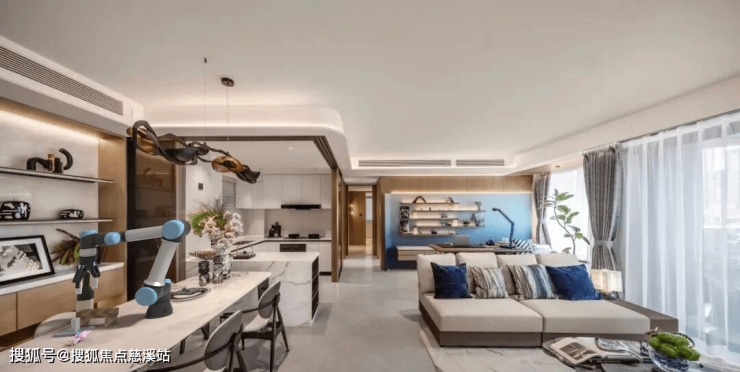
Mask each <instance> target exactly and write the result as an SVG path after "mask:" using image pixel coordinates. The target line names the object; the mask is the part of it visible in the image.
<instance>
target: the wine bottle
mask: <svg viewBox="0 0 740 372" xmlns="http://www.w3.org/2000/svg"><path fill="white" fill-rule="evenodd" d="M90 285H91V273H90V272H89V271H87V272H86V273H85V275H84V277H83V279H82V293H81V294H76V303H75V304H76V306H75V307H76V308H75V313H76V312H77V311H80V310H83V309H94V303H95V298H94V297H95V291H94V290H93V289H92V286H90Z"/></svg>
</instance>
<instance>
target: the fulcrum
mask: <svg viewBox="0 0 740 372" xmlns="http://www.w3.org/2000/svg"><path fill="white" fill-rule="evenodd" d="M96 327H97V326H96V325H92V326H91V325H88V326H86V327H80V317H79V318H76V317H74V318H72V319H71V320H70V327H68V328H65V329H63V330H61V331H58V332H57V333H54V334H53V335H52V338H62V337H63V338H64V337H74V336H75V335H76V333H77V332H79V333H81V332H83V331H90V330H91V331H93V330H94V329H95V330H96V329H97V328H96Z"/></svg>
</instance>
